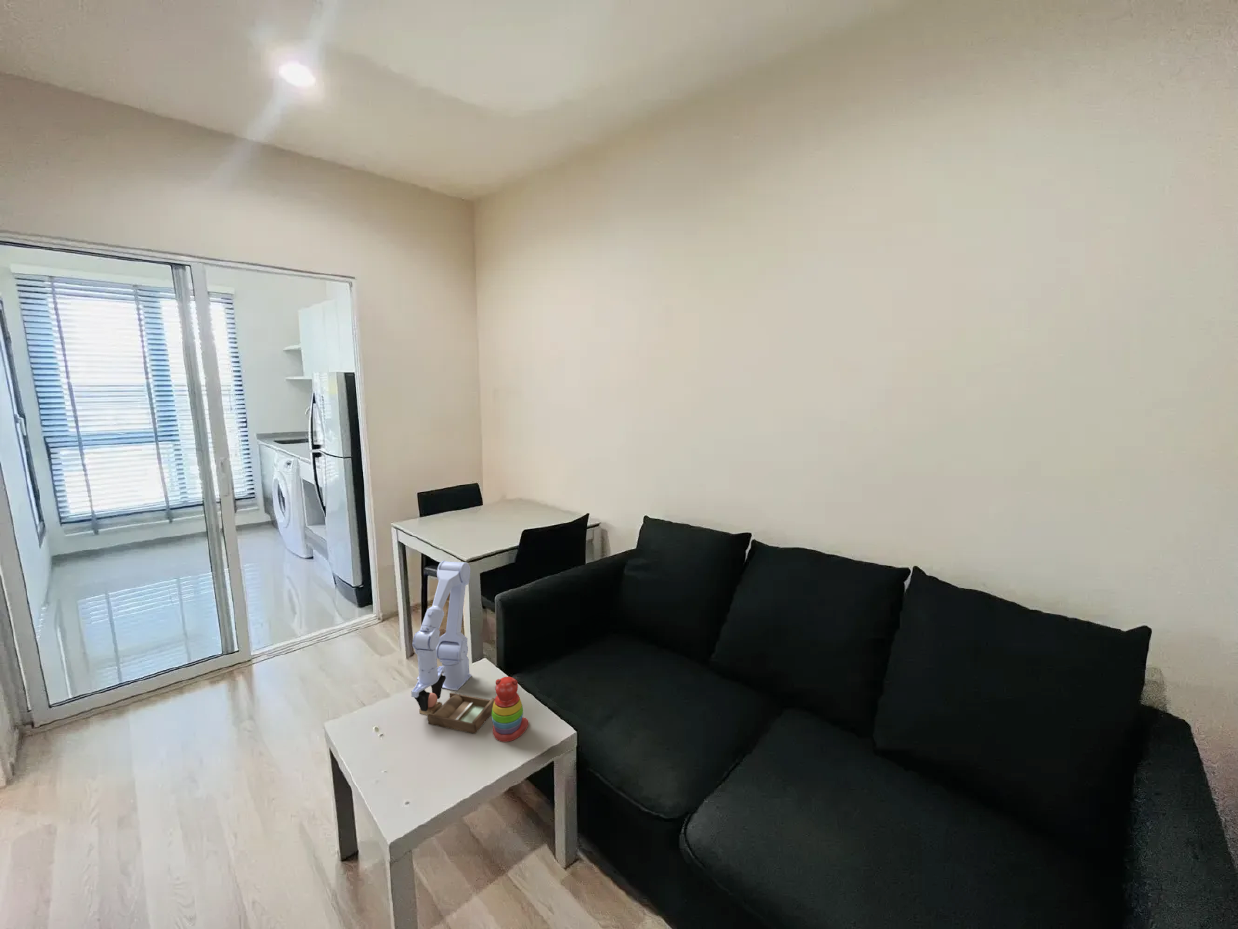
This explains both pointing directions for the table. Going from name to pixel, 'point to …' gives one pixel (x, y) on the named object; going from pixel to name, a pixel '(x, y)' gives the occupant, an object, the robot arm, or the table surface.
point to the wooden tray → (462, 713)
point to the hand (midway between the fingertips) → (430, 704)
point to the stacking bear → (508, 711)
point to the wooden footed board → (431, 709)
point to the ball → (432, 699)
